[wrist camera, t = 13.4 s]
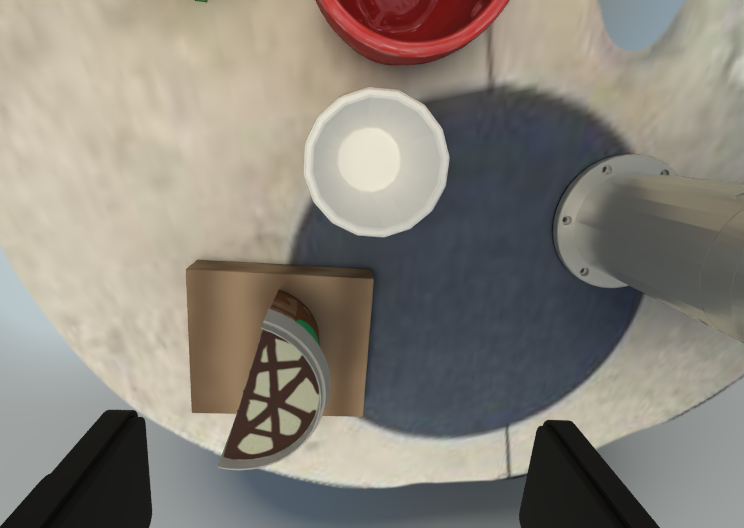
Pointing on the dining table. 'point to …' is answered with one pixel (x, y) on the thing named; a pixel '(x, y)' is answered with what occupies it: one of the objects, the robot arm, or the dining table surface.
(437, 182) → the cup
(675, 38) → the dining table surface
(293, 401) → the food container
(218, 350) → the walnut base
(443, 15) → the plant pot
